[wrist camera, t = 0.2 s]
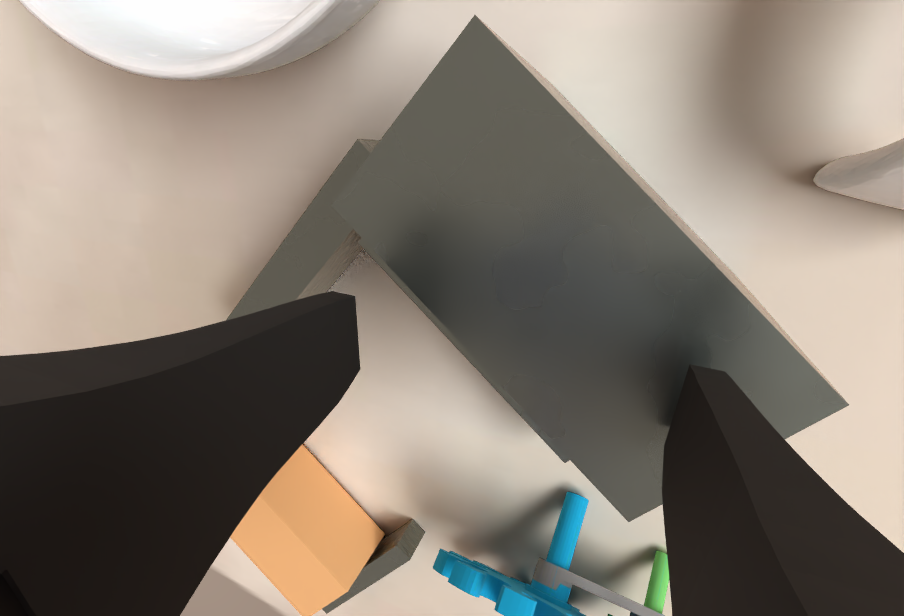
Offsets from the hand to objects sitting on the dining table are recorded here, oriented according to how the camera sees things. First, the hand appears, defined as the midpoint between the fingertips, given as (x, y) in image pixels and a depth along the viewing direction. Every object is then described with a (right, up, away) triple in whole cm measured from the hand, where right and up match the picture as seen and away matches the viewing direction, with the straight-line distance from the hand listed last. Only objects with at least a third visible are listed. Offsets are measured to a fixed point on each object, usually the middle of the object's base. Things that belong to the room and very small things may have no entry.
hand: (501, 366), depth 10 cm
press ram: (-9, -9, +18) cm, 22 cm away
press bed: (-4, -2, +14) cm, 14 cm away
